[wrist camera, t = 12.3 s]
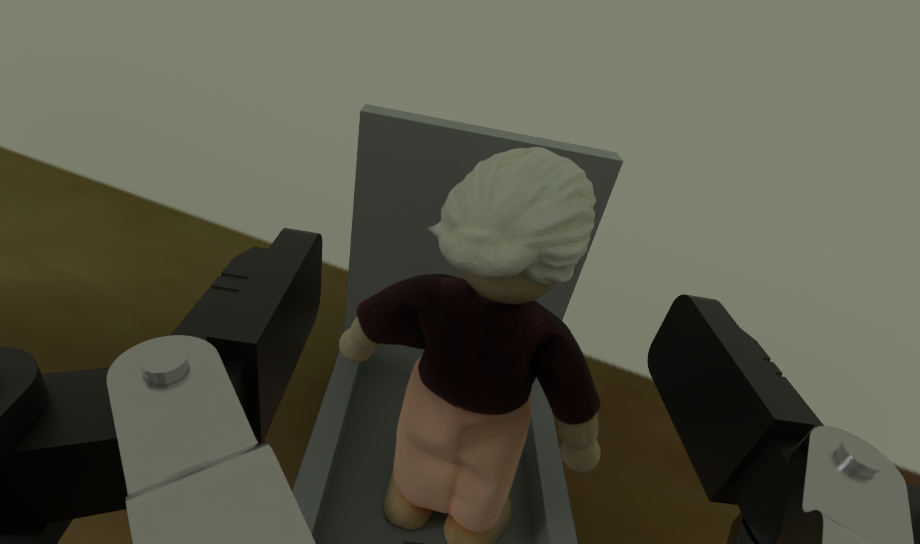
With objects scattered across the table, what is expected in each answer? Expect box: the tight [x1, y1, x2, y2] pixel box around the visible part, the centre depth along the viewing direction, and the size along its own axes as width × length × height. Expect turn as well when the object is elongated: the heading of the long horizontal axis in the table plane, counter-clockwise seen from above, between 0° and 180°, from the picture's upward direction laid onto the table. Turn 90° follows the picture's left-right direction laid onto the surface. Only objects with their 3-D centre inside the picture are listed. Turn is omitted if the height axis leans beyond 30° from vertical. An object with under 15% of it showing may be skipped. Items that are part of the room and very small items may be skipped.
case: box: [292, 104, 623, 544], centre depth 14 cm, size 9×13×12 cm
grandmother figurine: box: [339, 147, 601, 544], centre depth 13 cm, size 8×4×13 cm, turn 80°
